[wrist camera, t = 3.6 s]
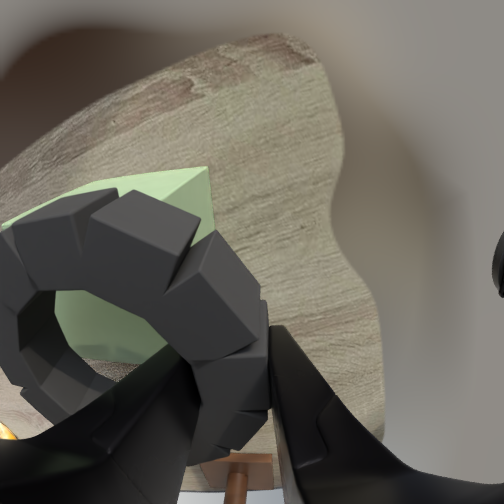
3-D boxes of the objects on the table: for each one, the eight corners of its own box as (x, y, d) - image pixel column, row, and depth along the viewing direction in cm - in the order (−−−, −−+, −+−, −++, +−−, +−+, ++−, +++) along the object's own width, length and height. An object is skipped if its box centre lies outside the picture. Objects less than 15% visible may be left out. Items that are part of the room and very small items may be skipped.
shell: (-10, 416, 37) (-20, 426, 32) (4, 411, 38) (-7, 421, 33) (14, 451, 37) (5, 463, 33) (28, 447, 38) (19, 459, 34)
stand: (271, 453, 29) (269, 509, 22) (273, 482, 32) (271, 529, 26) (199, 450, 30) (187, 504, 23) (211, 479, 33) (203, 525, 26)
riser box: (208, 166, 18) (155, 203, 10) (221, 273, 21) (190, 368, 13) (93, 181, 19) (0, 224, 11) (114, 276, 22) (47, 353, 13)
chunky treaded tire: (254, 168, 8) (250, 188, 5) (276, 419, 11) (278, 470, 9) (-9, 214, 8) (-56, 239, 6) (74, 406, 12) (54, 444, 9)
